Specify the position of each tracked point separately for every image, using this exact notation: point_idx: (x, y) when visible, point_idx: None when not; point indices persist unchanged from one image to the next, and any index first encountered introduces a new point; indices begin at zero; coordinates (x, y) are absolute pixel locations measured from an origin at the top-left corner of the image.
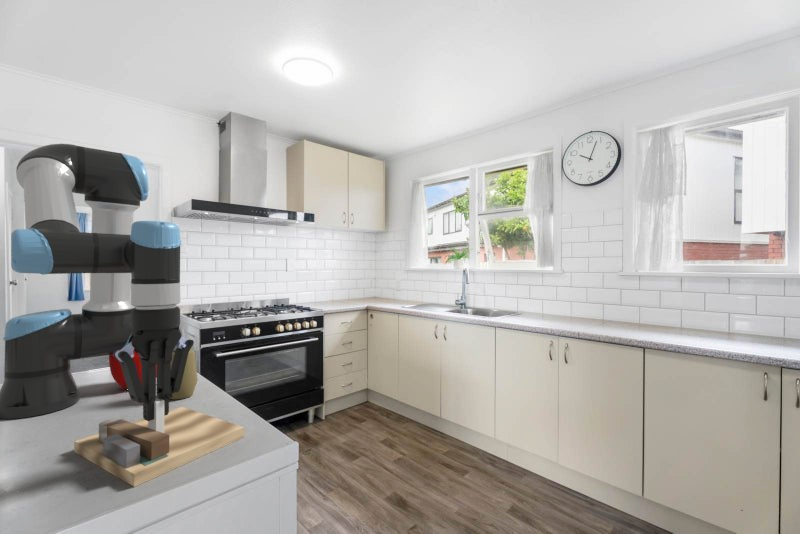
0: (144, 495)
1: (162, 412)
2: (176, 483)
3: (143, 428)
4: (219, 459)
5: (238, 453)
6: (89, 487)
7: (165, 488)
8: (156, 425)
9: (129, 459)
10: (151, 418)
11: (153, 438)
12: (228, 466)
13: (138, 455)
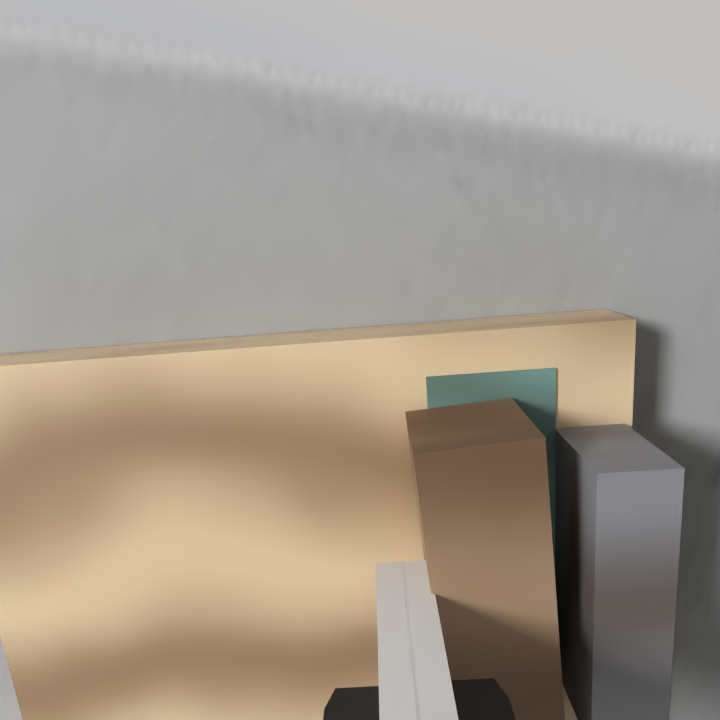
0: (617, 185)
1: (397, 696)
2: (472, 162)
3: None
4: (204, 216)
5: (96, 189)
6: (709, 479)
7: (528, 161)
8: (436, 622)
9: (628, 442)
10: (472, 690)
11: (507, 486)
12: (209, 89)
13: (580, 445)
